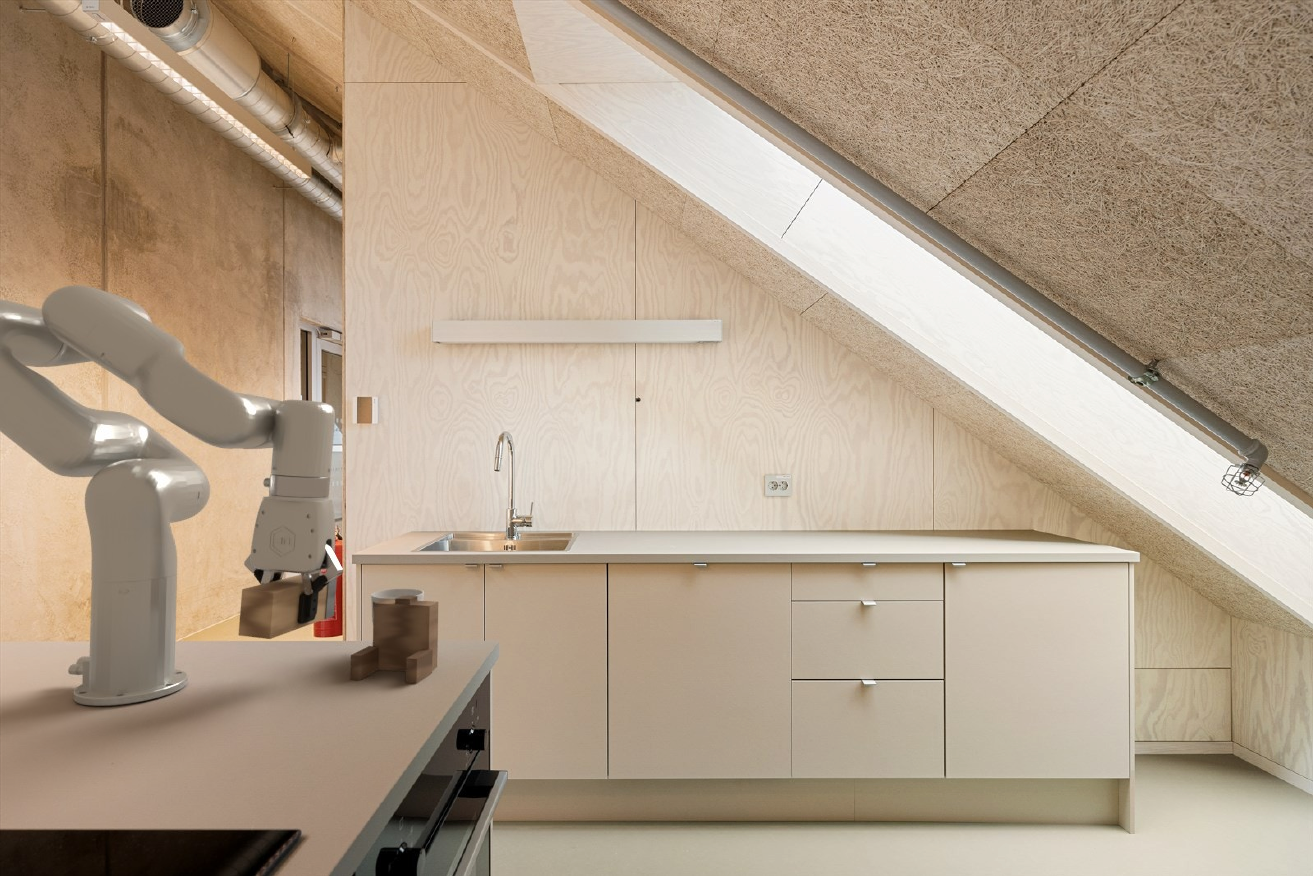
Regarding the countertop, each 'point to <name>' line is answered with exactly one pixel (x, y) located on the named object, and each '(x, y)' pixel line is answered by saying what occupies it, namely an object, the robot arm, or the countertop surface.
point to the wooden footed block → (400, 639)
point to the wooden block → (280, 607)
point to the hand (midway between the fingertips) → (289, 618)
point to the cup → (395, 595)
